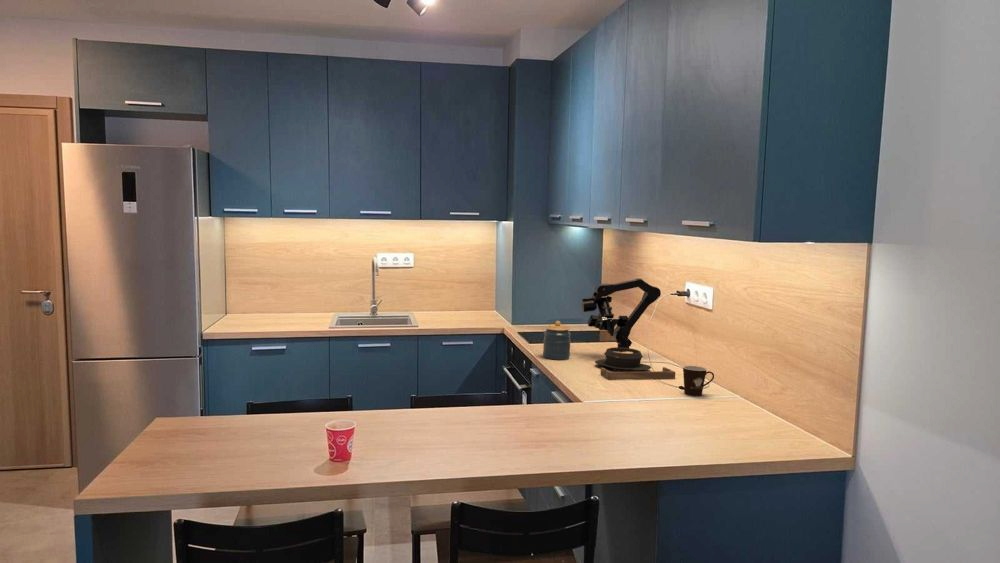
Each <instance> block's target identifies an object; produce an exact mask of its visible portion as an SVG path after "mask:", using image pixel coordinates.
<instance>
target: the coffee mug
mask: <svg viewBox="0 0 1000 563" xmlns="http://www.w3.org/2000/svg"><path fill="white" fill-rule="evenodd" d="M682 371H683V391H684V394H685V395H687V396H691V397H701V396H702V395H703V389H704V387H705V386H707V385H708V384H710V383H711V382H713V381H714V378H715V374H714V373H713V372H712V371H707V368H705V367H702V366H696V365H685V366H683V367H682ZM708 374H711V375H712V377H711V379H709V381H707V382H706V383H705V379H706V375H708Z"/></svg>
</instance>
